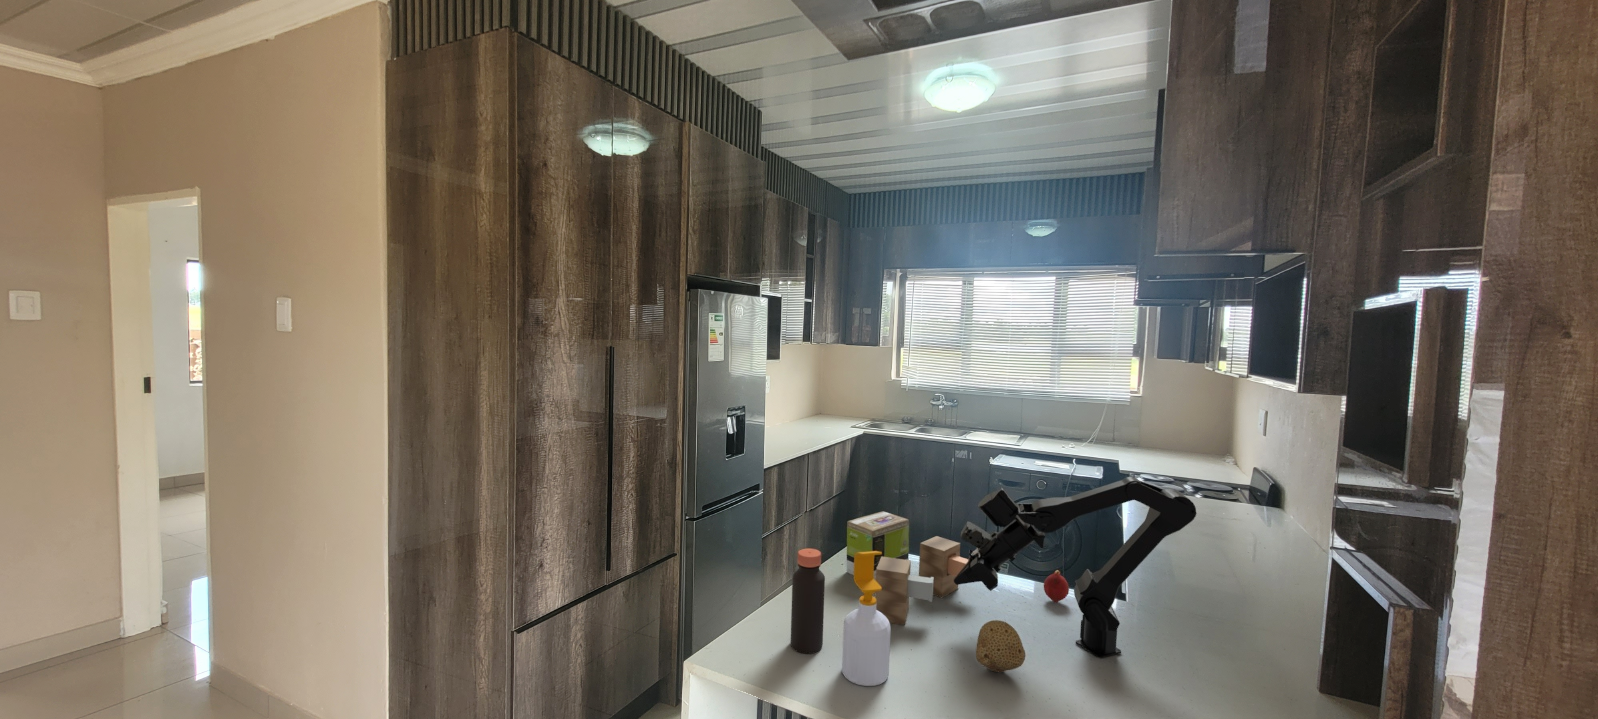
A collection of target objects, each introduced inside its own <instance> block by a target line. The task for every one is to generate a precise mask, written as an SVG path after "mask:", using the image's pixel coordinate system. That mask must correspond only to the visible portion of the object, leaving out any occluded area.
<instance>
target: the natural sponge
mask: <svg viewBox="0 0 1598 719" xmlns="http://www.w3.org/2000/svg"><path fill="white" fill-rule="evenodd" d="M978 633H979V634H978V636H977V642H976V647H975V658H976V660H977V662H978V663H979V664H980V665H981V666H983V667H985V668H986V669H989V670H990V671H991V672H995V673H1004V672H1006V671H1012V670H1015V669H1018V668H1020V667H1022V665H1023V664H1024V662H1025V661H1026V651H1025V648H1024V646H1023V643H1022V640H1021V637H1020V635H1019V633H1018V631H1017V630H1016V628H1014V627H1013V626H1011V624H1010V623H1008V622H1006V621H1002V620H997V619H995V620H990V621H987V622H985V623H984V624H983V625H982V626H981V628H980V630H979V632H978Z"/></svg>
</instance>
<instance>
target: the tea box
mask: <svg viewBox="0 0 1598 719" xmlns="http://www.w3.org/2000/svg"><path fill="white" fill-rule="evenodd" d="M846 525H847V526H846V573H847V574H850V575H852V576H854V556H855V553H857V552H870V551H878V552H882V554H880V555H875V556H874V579H875V581H876V569H877V566H878V564H879V561H880V559H881V557H889V558H896V559H904V560H909V553H910V548H909V547H910V519H908V518H905V517H903V516H899V515H896V514H892V513H889V512H886V511H884V510H883V511H879V512H875V513H871V514H868V515H864V516H861V517H858V518H855V519H851V520H848V521H847V524H846Z"/></svg>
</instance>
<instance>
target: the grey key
mask: <svg viewBox="0 0 1598 719" xmlns="http://www.w3.org/2000/svg"><path fill="white" fill-rule="evenodd" d="M933 582H934V577H931V578H928V577H921V576H919V575H913V574H910V575H909V576H908V585H907V597H909V598H911V599H919V600H925V601H928V602H930V603H933V598H934V594H933Z"/></svg>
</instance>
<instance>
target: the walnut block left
mask: <svg viewBox="0 0 1598 719" xmlns="http://www.w3.org/2000/svg"><path fill="white" fill-rule="evenodd" d="M911 563H912V560H911V559H910V560H904V559H896V558H889V557H881V559H880V561H879V564H878V566H877V569H876V582H877V583H878V584H879V585H880V586H881V587H882V590H881V591H875V593H874V594H875V596H874V597H875V598H876V610H878V611H879V612H881V613H882V614H883V615H884V616H885V617H886V618H887V619H888V620H889V623H890V624H896V625H902V626H906V624H907V623H906V622H907V617H908V614H909V609H910V597H907V585H908V576H909V575H911Z"/></svg>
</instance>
